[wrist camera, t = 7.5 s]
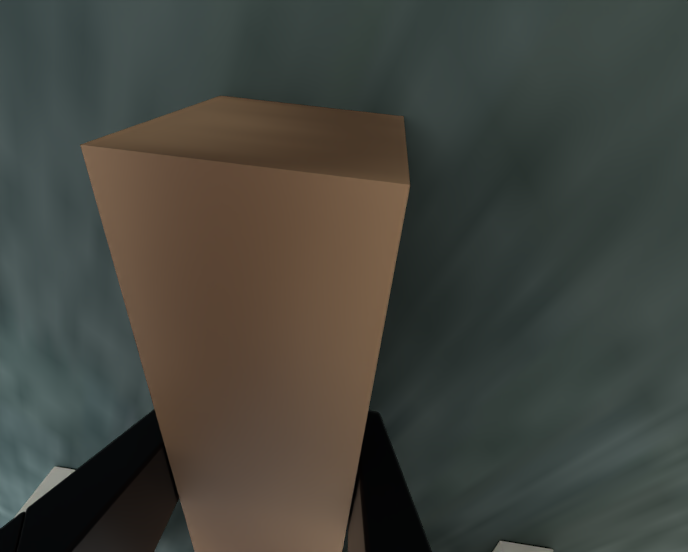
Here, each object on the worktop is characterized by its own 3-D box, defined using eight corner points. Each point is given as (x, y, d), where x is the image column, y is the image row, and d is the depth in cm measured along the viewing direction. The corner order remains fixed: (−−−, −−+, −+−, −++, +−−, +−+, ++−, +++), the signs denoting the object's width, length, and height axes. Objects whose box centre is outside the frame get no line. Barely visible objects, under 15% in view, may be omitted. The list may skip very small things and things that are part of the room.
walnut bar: (403, 115, 7) (409, 185, 4) (326, 598, 20) (312, 710, 17) (223, 94, 7) (80, 145, 4) (261, 586, 20) (234, 695, 17)
